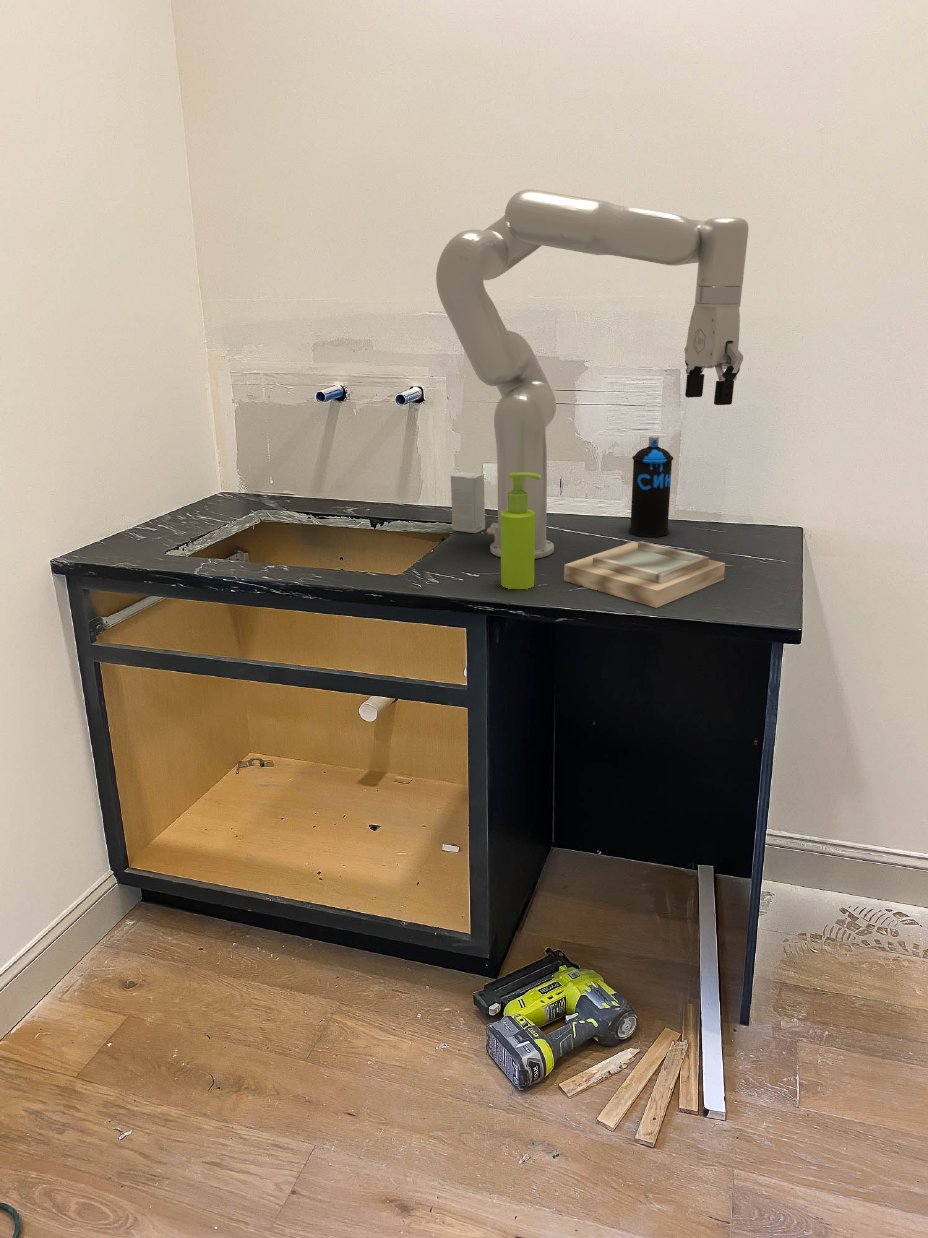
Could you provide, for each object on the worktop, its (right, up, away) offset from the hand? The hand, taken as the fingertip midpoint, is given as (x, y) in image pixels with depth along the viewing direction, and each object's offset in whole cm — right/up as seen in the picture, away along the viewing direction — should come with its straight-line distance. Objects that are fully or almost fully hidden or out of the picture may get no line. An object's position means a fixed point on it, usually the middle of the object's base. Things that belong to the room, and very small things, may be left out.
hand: (707, 400), depth 158 cm
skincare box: (-42, -19, +36) cm, 58 cm away
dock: (-11, -32, +2) cm, 33 cm away
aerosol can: (-4, -20, +31) cm, 37 cm away
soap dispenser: (-33, -33, +1) cm, 46 cm away
